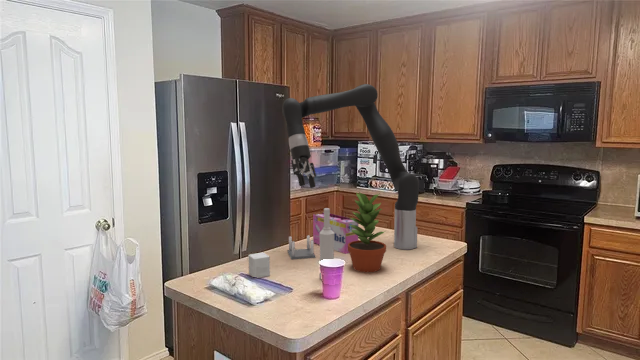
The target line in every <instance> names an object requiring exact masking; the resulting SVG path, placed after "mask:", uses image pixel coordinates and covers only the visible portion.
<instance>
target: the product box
mask: <svg viewBox="0 0 640 360" xmlns="http://www.w3.org/2000/svg"><path fill="white" fill-rule="evenodd" d="M247 257H248V274H249V276H251V277H252V278H253V277H257V278H256V279H260V278H266V277H270V276H271V271H270V269H271V267H270V263H271V261H270V256H269V255H268V254H266V253H265V252H258V253H251V254H248V256H247Z"/></svg>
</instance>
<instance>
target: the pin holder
mask: <svg viewBox="0 0 640 360" xmlns="http://www.w3.org/2000/svg"><path fill="white" fill-rule="evenodd" d="M310 239H311V237H310V234H309V235H306V248H299V249H297V248H295V247H296V244H295V243H296V241H293V238H292V236H290V235H289V236H288V249H287V250H286V251H287V254H288V256H289V258H290V260H301V259H315V258H316V254H315V253H314V246H315V245H314V244H315V243H314V241H313V239H311V240H310Z"/></svg>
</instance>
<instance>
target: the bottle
mask: <svg viewBox="0 0 640 360" xmlns="http://www.w3.org/2000/svg"><path fill="white" fill-rule="evenodd" d="M330 211H331V209H330V208H328V207H325V208H323V212H324V228H323V230H322V231H321V232H320V233H319V235H320V245H319V262H320V261H321V260H323V259H334V256H335V253H334V252H335V250H334V232H333V231H332V230H331V228H330V213H331V212H330ZM319 279H320V280H321V273H320V272H319Z"/></svg>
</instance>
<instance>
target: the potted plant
mask: <svg viewBox="0 0 640 360" xmlns="http://www.w3.org/2000/svg"><path fill="white" fill-rule="evenodd" d="M355 193H356V197H357V199H358V200H356V199H354V202H355V204H356V205H357V206H358V208H356V209H357V212H354V211H352V214H353V216H355V217H356V218H354V217H349V218H350V219H352V220H353V221H355V222H357V223H359V227H358V226H356V225H350V226H351V227H353V228H354V229H356V230H352V229H351V230H352V232H353V233H355V234H356V235H357V236H358V240H357V241H352V242H350V243H349V244H348V251H349V252H350V253H349V257H350V259H351V263H352V268H353V269H354V271H358V272H361V273H374V272H377V271H380V269H381V266H382V263H383V260H384V256H385V253H386V252H387V245H386V243H384V242H381V241H379V240H378V241H377V240H374V239H375V238H377V237H379V236H380V235H383V234H384V233H385V232H386V230H384V231H378V232H376V233H375V232H374V231H375V229H376V225H378V223H379V221H380V220H379V219H376V218H377V217H378V215H379V214H380V211H382V210H383V208H381V207H380V206H381V204H382V202H381V201H380V203H375V204H373V203H374V202H375V200H376V199H377V198H378V197H379V195H380V192H379V193H377V194H374V195H373V196H372V197H371V198H370V199H369V198H368V196H367V195H366V194H364V193H361V192H360V191H358V192H357V191H356V192H355ZM360 226H362V227H360Z"/></svg>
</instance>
